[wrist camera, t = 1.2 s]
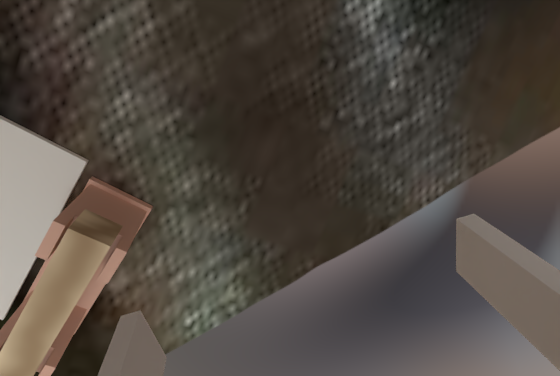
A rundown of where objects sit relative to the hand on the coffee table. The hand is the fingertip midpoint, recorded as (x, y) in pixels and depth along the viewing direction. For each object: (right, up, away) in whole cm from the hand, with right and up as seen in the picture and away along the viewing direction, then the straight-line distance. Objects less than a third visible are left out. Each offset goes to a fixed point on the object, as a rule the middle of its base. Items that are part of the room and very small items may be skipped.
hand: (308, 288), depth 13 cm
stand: (-25, -4, +26) cm, 36 cm away
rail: (-24, -7, +19) cm, 31 cm away
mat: (-32, 0, +23) cm, 39 cm away
